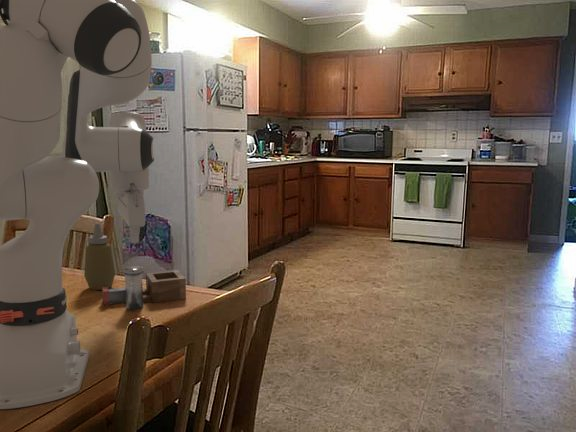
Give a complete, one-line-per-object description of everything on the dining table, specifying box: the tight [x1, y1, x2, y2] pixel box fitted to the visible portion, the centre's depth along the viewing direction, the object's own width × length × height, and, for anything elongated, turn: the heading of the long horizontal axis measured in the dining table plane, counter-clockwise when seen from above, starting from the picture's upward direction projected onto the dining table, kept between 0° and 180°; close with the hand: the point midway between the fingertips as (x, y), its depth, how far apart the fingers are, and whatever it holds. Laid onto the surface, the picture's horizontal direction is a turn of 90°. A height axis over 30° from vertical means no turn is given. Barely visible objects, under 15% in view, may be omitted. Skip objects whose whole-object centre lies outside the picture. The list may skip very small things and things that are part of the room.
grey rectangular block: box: [101, 286, 126, 307], centre depth 130 cm, size 4×8×4 cm, turn 116°
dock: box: [143, 269, 187, 304], centre depth 135 cm, size 9×13×6 cm
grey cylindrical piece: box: [122, 265, 144, 312], centre depth 126 cm, size 5×5×10 cm
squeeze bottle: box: [84, 222, 116, 291], centre depth 140 cm, size 8×8×18 cm
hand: (131, 238), depth 124 cm, fingers open, 8 cm apart
